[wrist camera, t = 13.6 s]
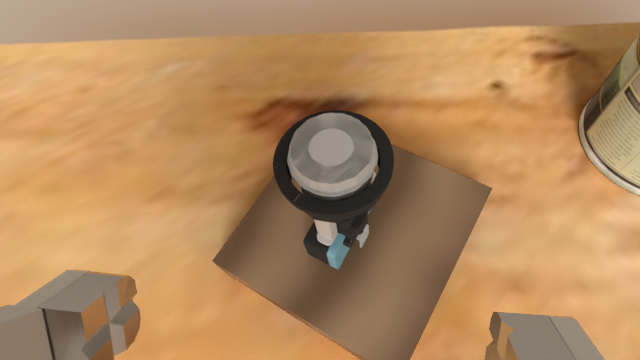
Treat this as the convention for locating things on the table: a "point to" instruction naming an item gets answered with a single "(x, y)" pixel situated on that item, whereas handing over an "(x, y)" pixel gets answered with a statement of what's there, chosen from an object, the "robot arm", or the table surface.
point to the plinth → (363, 259)
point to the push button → (334, 178)
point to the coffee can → (616, 123)
